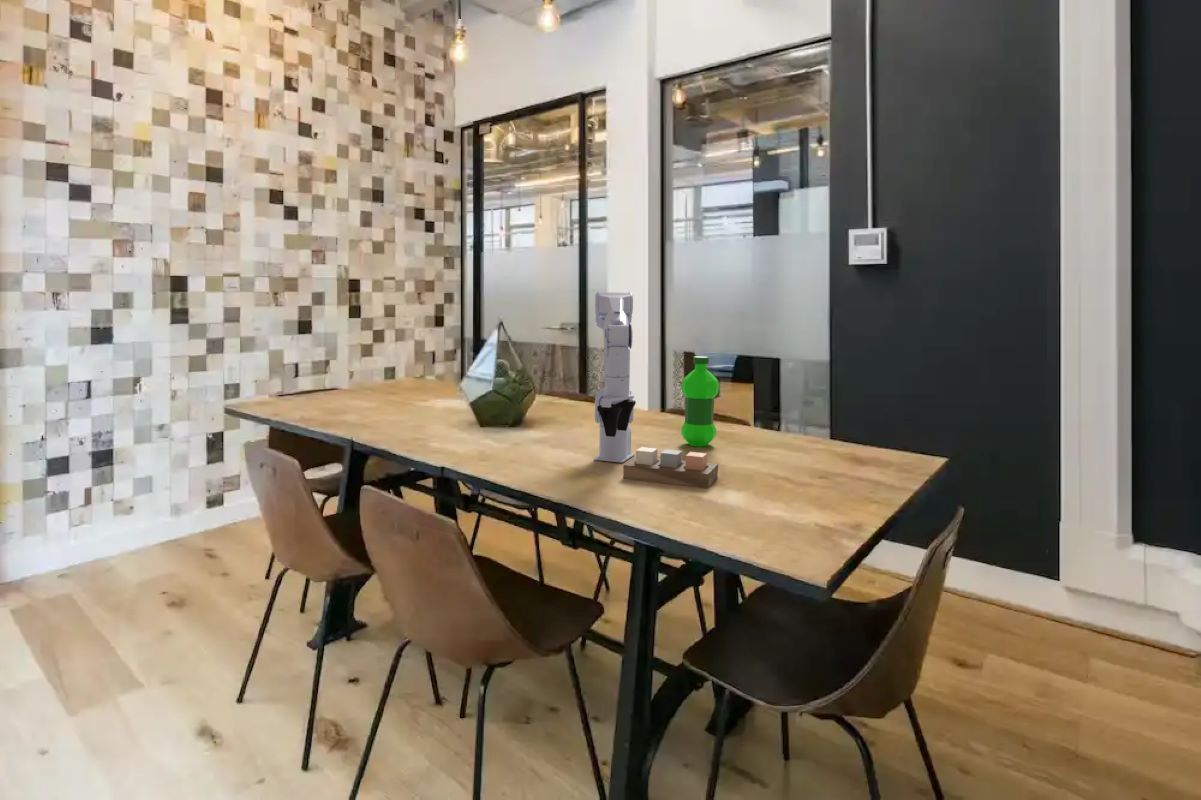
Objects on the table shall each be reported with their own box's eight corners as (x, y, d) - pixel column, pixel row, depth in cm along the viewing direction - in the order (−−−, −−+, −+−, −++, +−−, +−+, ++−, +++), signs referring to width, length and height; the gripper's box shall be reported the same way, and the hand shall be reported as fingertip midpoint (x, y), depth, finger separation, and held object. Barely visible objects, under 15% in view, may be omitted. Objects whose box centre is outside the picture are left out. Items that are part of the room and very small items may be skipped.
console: (637, 468, 175) (637, 455, 175) (717, 477, 168) (718, 464, 167) (623, 478, 166) (623, 464, 165) (707, 488, 159) (708, 474, 158)
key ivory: (641, 461, 171) (641, 447, 171) (657, 463, 170) (657, 448, 169) (635, 465, 168) (636, 450, 167) (651, 467, 166) (652, 452, 165)
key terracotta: (689, 466, 167) (690, 451, 166) (706, 468, 165) (707, 453, 165) (685, 470, 163) (685, 455, 163) (702, 472, 162) (702, 457, 161)
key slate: (665, 464, 169) (665, 449, 168) (681, 465, 167) (681, 451, 167) (660, 468, 165) (660, 452, 165) (676, 469, 164) (677, 454, 163)
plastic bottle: (724, 446, 201) (727, 357, 197) (694, 449, 196) (697, 359, 192) (702, 439, 210) (704, 354, 206) (672, 442, 204) (675, 356, 201)
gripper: (622, 380, 158) (621, 440, 160) (643, 373, 171) (642, 429, 173) (593, 378, 161) (592, 437, 163) (616, 372, 174) (615, 426, 176)
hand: (616, 433), depth 168 cm, fingers open, 7 cm apart
